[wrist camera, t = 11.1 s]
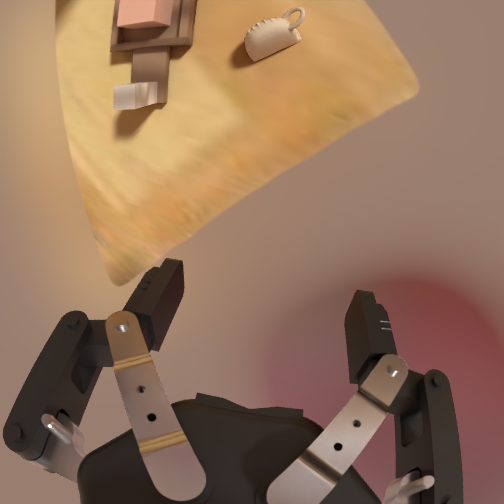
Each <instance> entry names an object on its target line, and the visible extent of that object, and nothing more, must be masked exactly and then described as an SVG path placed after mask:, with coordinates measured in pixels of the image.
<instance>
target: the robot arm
mask: <svg viewBox="0 0 504 504" xmlns="http://www.w3.org/2000/svg"><path fill="white" fill-rule="evenodd" d="M183 293H184V272H183V261H181V260H176V259H170V258H166V259H165V260H164V262H163V263H162V265H161V267H160V268H159V267H153V268H152V269H150V270H149V271H148V272H146V273H145V275H144V276H143V278H142V279H141V282H140V283H139V284H138V286H137V288H136V289H135V291H134V292H133V294H132V296H131V297H130V299H129V300H128V302H127V303H126V305H125V307H124V308H123V310H122V311H118V312H115V313H113V314H112V315H110V316H109V317H108V319H107V320H88V317H87V315H86V314H85V313H84V312H81V311H71V312H68V313H66V314H65V315H64V316H63V317H62V318H61V320H60V321H59V323H58V324H57V326H56V328H55V329H54V331H53V333H52V334H51V336H50V338H49V339H48V341H47V343H46V344H45V346H44V348H43V350H42V352H41V353H40V355H39V357H38V358H37V360H36V362H35V364H34V366H33V367H32V369H31V371H30V373H29V375H28V377H27V379H26V381H25V383H24V385H23V387H22V389H21V391H20V393H19V395H18V397H17V399H16V401H15V403H14V405H13V408H12V410H11V412H10V414H9V416H8V419H7V421H6V423H5V426H4V429H3V438H4V441H5V444H6V445H7V447H8V448H9V449H11V450H12V451H14V452H15V453H17V454H18V455H20V456H21V457H22V458H23V459H25V460H27V461H28V462H30V463H32V464H34V465H35V466H37V467H39V468H42V469H44V470H46V471H48V472H50V473H57V474H59V475H61V476H63V477H65V478H67V479H70V480H72V481H74V482H76V483H77V484H78V489H79V493H80V501H81V504H463V477H462V462H461V451H460V443H459V434H458V427H457V421H456V414H455V409H454V403H453V398H452V393H451V389H450V383H449V380H448V378H447V376H446V375H445V374H444V373H442V372H441V371H439V370H435V369H434V370H433V369H432V370H429V371H428V372H427V373H426V374H425V375H423V374H420V373H417V372H414V371H411V370H409V369H408V366H407V364H406V362H405V361H404V360H403V359H402V358H401V357H399V356H398V355H397V350H396V346H395V342H394V338H393V334H392V330H391V325H390V323H389V318H388V314H387V312H386V310H385V309H384V307H383V306H382V305H381V304H376V300H375V296H374V293H373V292H370V291H363V290H357V291H356V292H355V294H354V297H353V299H352V301H351V304H350V306H349V308H348V311H347V313H346V317H345V323H344V324H345V335H346V344H347V355H348V364H349V365H348V366H349V379H350V383H353V384H358V390H357V392H356V393H355V394H354V395H353V397H352V398H351V399H350V400H349V402H348V403H347V404H346V405H345V406H344V408H343V409H342V410H341V411H340V413H339V414H338V415H337V416H336V417H335V418H334V419H333V421H332V422H331V423H330V424H329V425H328V426H327V427H326V429H325V430H324V429H323V428H322V427H321V426H320V425H318V424H317V423H315V422H314V421H312V420H310V419H308V418H306V417H303V409H292V408H284V407H283V408H282V407H270V408H258V409H248V408H245V407H243V406H240V405H238V404H235V403H233V402H231V401H229V400H226V399H224V398H220V397H215V396H210V395H206V394H201V393H197V395H196V399H189V400H182V401H178V402H175V403H172V404H170V402H169V400H168V397H167V395H166V393H165V390H164V388H163V385H162V383H161V381H160V378H159V376H158V373H157V371H156V368H155V365H154V363H153V360H152V358H151V355H150V354H149V353H150V351H151V350H154V351H159V350H160V347H161V345H162V343H163V340H164V338H165V336H166V333H167V331H168V329H169V327H170V324H171V322H172V320H173V318H174V315H175V313H176V311H177V308H178V306H179V304H180V302H181V299H182V297H183ZM103 367H113V368H114V372H115V376H116V379H117V383H118V386H119V390H120V393H121V397H122V400H123V402H124V406H125V409H126V412H127V415H128V418H129V421H130V424H131V427H132V428H131V429H130V430H128V431H126V432H125V433H123V434H121V435H120V436H118V437H116V438H115V439H113V440H111V441H109V442H108V443H106V444H104V445H102V446H101V447H99V448H97V449H95V450H94V451H92V452H90V453H89V454H88V455H86V456H85V454H84V451H83V445H84V435H83V433H82V431H81V430H80V428H79V425H80V422H81V419H82V416H83V414H84V411H85V409H86V406H87V404H88V401H89V398H90V396H91V394H92V391H93V389H94V386H95V384H96V382H97V380H98V377H99V375H100V373H101V370H102V368H103ZM387 413H391V414H394V419H395V443H396V480H394V481H393V482H391V484H390V485H389V486H388V488H387V491H386V495H385V498H384V500H383V501H382V503H381V501H380V499H379V498H378V497H377V495H376V494H375V493H374V492H373V491H372V489H371V488H370V487H369V486H368V485H367V483H366V482H365V481H364V479H363V478H362V477H361V476H360V474H359V473H358V472H357V471H356V469H355V468H354V467H353V466H352V463H353V461H354V460H355V459H356V458H357V456H358V455H359V453H360V452H361V451H362V450H363V448H364V447H365V446H366V444H367V443H368V442H369V440H370V439H371V437H372V436H373V434H374V433H375V432H376V430H377V429H378V427H379V426H380V424H381V423H382V421H383V420H384V418H385V417H386V415H387Z"/></svg>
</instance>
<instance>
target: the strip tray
mask: <svg viewBox="0 0 504 504" xmlns="http://www.w3.org/2000/svg"><path fill="white" fill-rule="evenodd" d="M119 4H120V0H116V2H115V9H114V17H113V26H112V37H111V51H110V52H121V51H128V50H133V63H132V83H131V84H124V85H118V86H114V110H125V109H137V108H140V107H144V106H147V105H151V104H154V103H165V102H167V94H168V75H169V60H170V48H171V47H172V46H192V42H193V32H194V23H195V14H196V6H197V0H173V6H172V14H171V23H170V26H163V27H153V28H145V29H137V30H136V29H130V28H124V27H117V20H118V12H119Z"/></svg>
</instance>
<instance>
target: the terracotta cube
mask: <svg viewBox="0 0 504 504" xmlns="http://www.w3.org/2000/svg"><path fill="white" fill-rule="evenodd" d="M172 6H173V0H120V4H119V12H118V20H117V27H124V28H130V29H136V30H137V29H145V28H153V27H163V26H170V23H171V14H172Z"/></svg>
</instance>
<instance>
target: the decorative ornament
mask: <svg viewBox="0 0 504 504" xmlns="http://www.w3.org/2000/svg"><path fill="white" fill-rule="evenodd" d="M295 11H300V12H301V15H300V18H299V19H298V20H297V21H296V22H295V23H294V24H292V25H291V23H290V22H289V21H287V19H288V17H289V16H290V15H291V14H292V13H293V12H295ZM304 18H305V10H304V9H303V8H301V7H294V8H292V9H290V10H288V11H287V12H286V13H285V14H284V15H283V17H282V18H278V17H276V18H274V19H271V18H269V20H262V22H261V23H259V22H257V23H256V25H255V26H252V28H251V29H250V30H248V33H246V34H245V36H246V37H245V38H244V40H245V48H246V52H247V53H248V55H249V56H250V58H251V59H252V60H253V61H254V62H255V61H258V60H260V59H262V58H264V57H267V56H269V55H271V54H273V53H275V52H277V51H279V50H281V49H284V48H286V47H288V46H291V45H293V44H295V43H298V42H300V41H301V40H302V38H301V36H300V34H299V33H298V31H297V30H296V29H295V28H297V27H298V26H299V25H300V24H301V23H302V22H303V20H304Z"/></svg>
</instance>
